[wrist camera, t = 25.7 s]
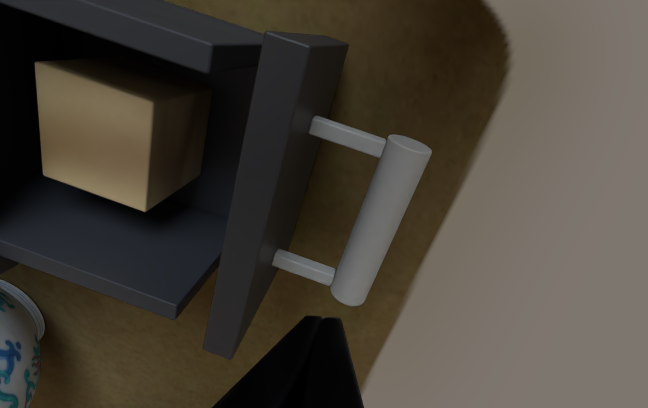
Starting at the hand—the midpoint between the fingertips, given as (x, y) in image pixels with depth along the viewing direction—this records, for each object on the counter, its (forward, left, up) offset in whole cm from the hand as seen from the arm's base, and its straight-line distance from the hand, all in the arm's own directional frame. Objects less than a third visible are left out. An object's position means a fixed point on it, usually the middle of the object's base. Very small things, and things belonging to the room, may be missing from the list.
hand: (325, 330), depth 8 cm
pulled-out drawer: (0, -7, -10) cm, 13 cm away
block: (0, -10, -9) cm, 14 cm away
